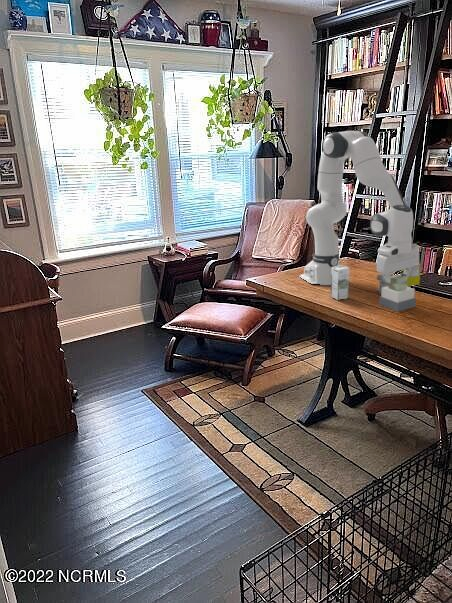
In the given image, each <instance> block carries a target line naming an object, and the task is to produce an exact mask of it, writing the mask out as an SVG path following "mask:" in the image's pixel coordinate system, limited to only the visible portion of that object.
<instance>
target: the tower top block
mask: <svg viewBox="0 0 452 603" xmlns="http://www.w3.org/2000/svg"><path fill="white" fill-rule="evenodd" d="M415 291H416V289H415V287H413V288H411V287H407V289H405V290H401V291H395V290H392V289H389V288H388V286H386V287H382V293H381V294H380V295H381V296H380V297H383V298H386V299H389V300H392V301H394V302H397V303H398V302H402V301H405V300H409V299H412V298H415Z"/></svg>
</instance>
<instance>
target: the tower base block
mask: <svg viewBox="0 0 452 603" xmlns="http://www.w3.org/2000/svg"><path fill="white" fill-rule="evenodd" d="M378 302H379V303H378V304H379V306H382V307H384V308H386V307H387V308H386V309H390V310H391V309H392V311H395V312H397V313H399V312H401V311H402V312H403V311H405V310H409V309H412V308H415V307H417V306H416V305H417V298H416V297H414V298H412V299H409V300H405V301H402V302H398V303H397V302H394V301H392V300H389V299H386V298H383V297H381V296H379V301H378Z"/></svg>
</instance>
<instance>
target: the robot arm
mask: <svg viewBox="0 0 452 603" xmlns="http://www.w3.org/2000/svg"><path fill="white" fill-rule="evenodd" d="M321 148H322V152H321V155H320V158H319V163H318V164H319V165H318V174H317V185H316V186H317V187H316V188H317V191H318V192H319V193H320V201H321V202H320V203H316V204H315V205H313V206H311V207H310V208H309V209H308V210H307V212H306V215H305V219H306V220H305V221H306V223H307V224H308V226H310V227H311V230H312V233H313V236H314V253H311V257H312V260H311V261H310V262H308V263H307V264H306V265H305V266H304V268H303V273H302V274H300V275H299V278H300V277H301V278H302V279H301V278H300V279H301V280H303V279H304V280H306V281H307V282H306V281H305V282H306V283H308V282H309V283H311V284H320V285H319V286H331V268H332V267H334V266H340V262H339V261H340V253H339V236H338V235H337V234H336V232H335V229H334V224H336V223H338V222H340V221H341V220H343V219H344V218H345V216H346V215H347V207H346V204H345V202H344V198H343V191H342V189H343V188H342V187H343V176H344V168H345V167H344V165H345V162H346V160H347V159H348V158H349V159H351V161H352V164H353V170H354V173H355V176H356V178H357V180H358V181H359V183H360V184H362V185H364V186H366V187H371V188H374V189H376V190H379V191H380V192H382V194H383V195H384V197H385V198H386V201H387V203H388V206H389V209H387V210H385V211H382V212H377V213H375V214H374V215H373V216H372V217H371V218H370V223H369V227H370V231H371V233H372V234H373V235H375V236H377V237H385V236H387V237H388V238H387V241H386V243H385V244H383V245H382V246H380V247H378V249H377V254H378V255H377V259H376V271H377V272H378V274H380V275H384V274H385V276H386V278H387V279H386V282H388V283H390V282H392V278H391V277H390V275H391V274H392V273H394V272H399V271H403V273H404V274H403V273H402V276H405V277H408V276H409V273H410V271H411V267H414V266H418V264H420V251H419V245H418V244H417V243H413V238H412V232H413V228H414V212H413V210H412V208H411V207H410V206H408V205H406V202H405V200H404V197H403V195H402V194H401V191H400V189H399V186H398V185H397V182H396V180H395V178H394V176H393V175H392V174H391V173H390V172H388V170H387V169H386V167H385V165H384V163H383V160H382V157H381V154H380V152H379V151H380V150H379V149H378V147H377V145H376V143H375V141H374V139H373V138H372V137H370V135H369V134H368V133H366V132H365V131H361V130H345V131H338V132H337V131H334V132H331V133H329V134H327V135H326V136H324V139H323V140H322V146H321ZM404 269H406V270H405V272H404ZM304 280H303V281H304ZM309 283H308V284H309ZM311 284H310V285H311Z"/></svg>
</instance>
